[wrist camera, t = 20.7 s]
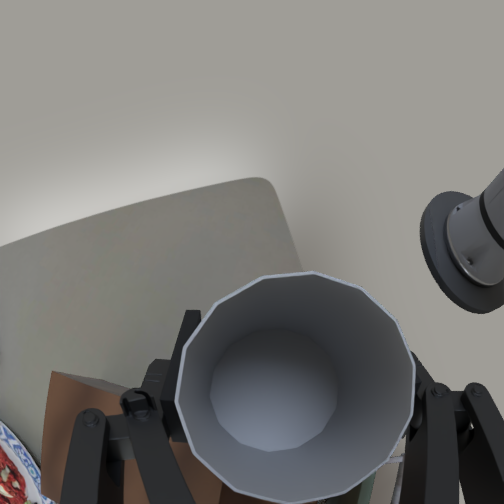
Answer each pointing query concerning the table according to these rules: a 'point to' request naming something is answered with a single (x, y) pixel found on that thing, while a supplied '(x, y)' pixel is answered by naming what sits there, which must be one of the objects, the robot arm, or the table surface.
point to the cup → (295, 387)
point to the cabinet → (107, 400)
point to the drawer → (353, 500)
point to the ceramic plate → (18, 472)
